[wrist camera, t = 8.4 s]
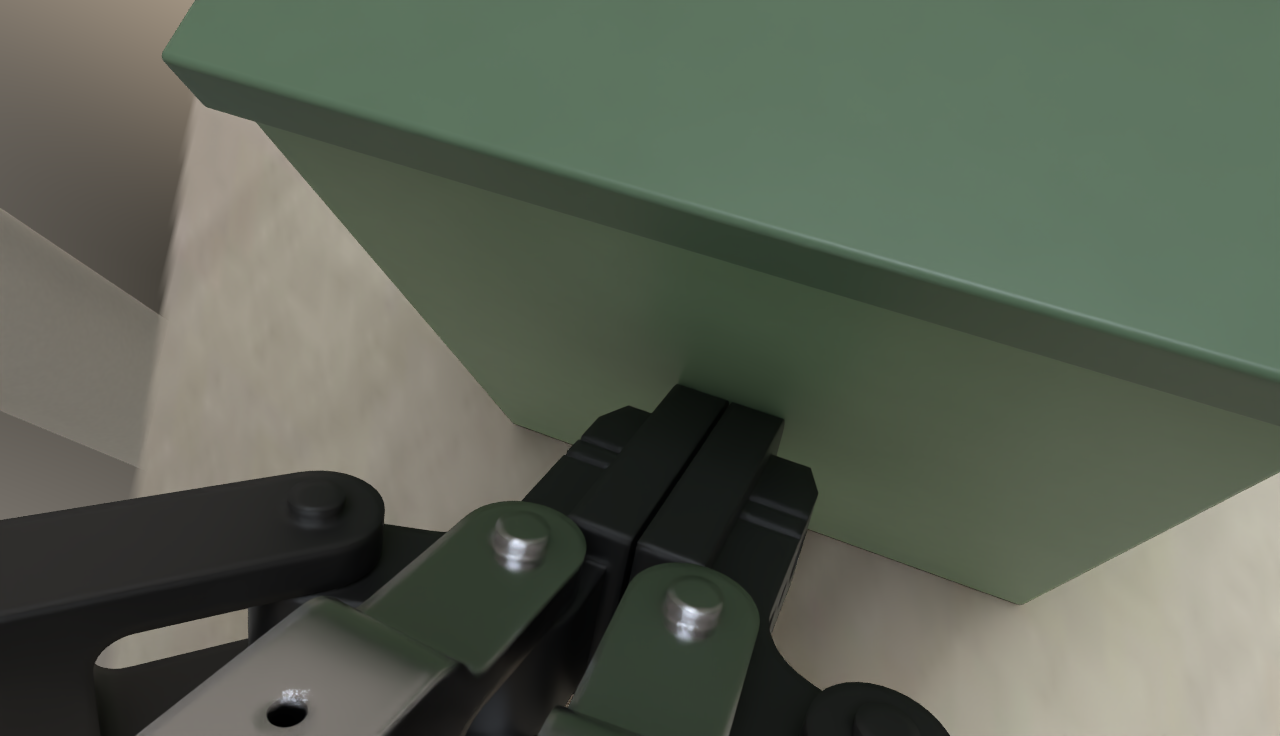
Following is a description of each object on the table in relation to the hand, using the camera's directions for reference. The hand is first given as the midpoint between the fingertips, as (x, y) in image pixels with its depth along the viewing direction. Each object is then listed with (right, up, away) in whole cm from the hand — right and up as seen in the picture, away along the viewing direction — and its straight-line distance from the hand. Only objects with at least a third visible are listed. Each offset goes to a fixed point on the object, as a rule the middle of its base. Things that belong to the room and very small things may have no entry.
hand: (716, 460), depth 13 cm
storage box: (+3, +3, +7) cm, 8 cm away
